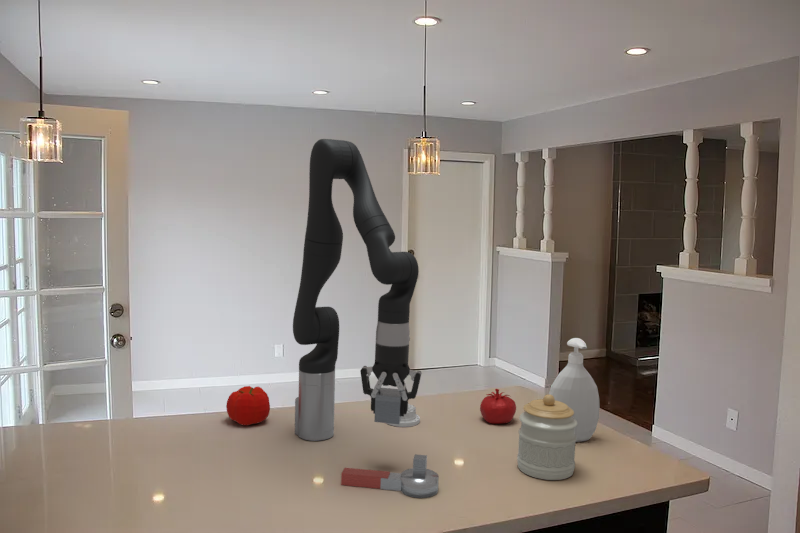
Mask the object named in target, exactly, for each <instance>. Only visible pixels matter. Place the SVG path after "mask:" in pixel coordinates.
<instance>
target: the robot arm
mask: <svg viewBox="0 0 800 533" xmlns="http://www.w3.org/2000/svg"><path fill="white" fill-rule="evenodd" d="M308 178H309V180H308V181H309V182H308V184H309V186H308V187H309V188H308V190H309V192H308V208H307V209H308V210H307V220H306V226H305V227H306V228H305V235H304V245H303V256H302V267H301V276H300V283H299V287H298V293H297V298H296V301H295V302H296V303H295V306H294V307H295V308H294V313H293V320H292V333H293V334H292V335H293V338H294V340H295V342H296V343H297V344H299V345H301V346H306V345H307V346H308V345H315V347H314V348H313V349H312V350H311V351H310V352H307V353H306V354H304V355H302V356H301V357H300V358H299V362H298V397H295V400H294V435H296V436H298V438H300V439H302V440H306V441H313V442H314V441H315V442H317V441H324V440H328V439H330V438H332V437H334V435H335V434H334V433H335V391H336V365H337V364H336V363H337V361H338V354H339V350H338V349H339V338H340V319H339V315H338V312H337V311H336V309H335V308H334V307H332V306H317V302H318V299H319V296H320V293H321V291H322V289H323V287H324V286H325V284H326V283H327V282H328V281H329V279H330V278H331V276H332V275H333V273H334V272H335V270H336V269H337V268H338V265H339V263H340V261H341V257H342V249H343V241H344V233H343V228H342V225H341V223H340V220H339V218H338V214H337V212H336V211H335V207H334V204H333V196H332V194H333V184H334V183H333V182H334V180H344V181H345V182H346V183H347V185H348V186H349V188H350V190H351V191H352V195H353V207H352V218H353V221H354V225H355V228H356V230H357V231H358V233H359V235H360V237H361V239H362V241H363V242H364V244H365V246H366V252H367V257H368V260H369V267H370V269H371V273H372V275H373V277H374V278H375V279H376V280H377V281H378V282H379V283H381V284H382V285H387V286H389V285H391V286H390V289H389V291H388V292H386V293H384V294H383V295H380V297H379V300H378V303H377V304H378V306H377V307H378V308H377V324H376V328H375V329H376V330H375V350H374V363H373V366H367V365H363V366H362V367H361V369H360V378H361V379H360V380H361V386H362V393H363V395H368V396H369V397H370V410H371V412H372V413H373V414H374V415H375V397H376V393H378V392H379V390H380V388H382V386H385V387H389V386H391V387H396V389H398V390H399V392H400V394H401V395H402V396H401V397H402V401H401V416H404V414H406V413H407V411H408V404H409V400H411V399H412V400H414V399H416V397H417V395H418V389H419V386H420V381H421V378H422V374H423V373H422V371H421V370H417V371H416V370H413V369H411V368H410V366H409V356H410V355H409V354H410V353H409V352H410V341H411V336H410V330H411V328H410V311H411V310H410V308H411V307H410V305H411V302H412V298H413V295H414V292H415V289H416V285H417V283H418V279H419V272H420V271H419V270H420V268H419V264H418V260H417V259H416V258H417V257H415V255H414V254H412V253H411V252H409V251H392V250H391V249H390V247H391V246H392V245H393V244H394V242H395V240H396V235H395V232H394V230H393V228H392V225H391V224H390V222H389V220H388V218H387V216H386V215H385V213H384V212H383V210H382V207H381V206H380V204H379V201H378V199H377V197H376V194H375V190H374V187H373V185H372V181H371V178H370V177H369V173H368V170H367V168H366V165H365V162H364V159H363V156H362V153H361V151H360V150H359V148H358V146H357V145H356V144H355V143H353V142H352V141H348V140H342V139H331V138H321V139H318V140H317V141H316V142H315V143H314V144H313V146H312V149H311V152H310V158H309V177H308ZM372 373H373V374H374V376H375V377H376V379H377V381H376V384H375V385H374V388H372V387H371V383H370V376H371V375H372ZM408 376H410V380H411V381H412V388H411V391H408V389H407V385H406V382H405V380H406V379H407V378H408Z"/></svg>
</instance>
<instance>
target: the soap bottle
mask: <svg viewBox="0 0 800 533" xmlns="http://www.w3.org/2000/svg"><path fill="white" fill-rule="evenodd" d="M566 345H567V346H568V347H573V351H570V352H569V354H568V357H567V358H568V361H567V364H566V365H565V367H564V368H563V369H562V370H561V371H560V372H559V373H558V375H557V376H556V378H555V379H554V381H553V382H552V384H551V386H550V390H549V392H548V394H550V395H552V396H554V398H555V400H556V401H560V402H563V403H565V404H566V405H567V406H568V407H570V408H571V409H572V410H573V411H574V415H573V416H572V417H573V418H574V419H575V420H576V421H577V426H576V427H575V428H574V432H575V435H576V437H577V439H576V441H575V443H578V442H586V441H588V440H590V439H591V438H592V437H593V434H594V433H595V432H596V430H597V426H598V423H599V419H600V410H601V409H600V396H599V390H598V389H599V388H598V386H597V384H596V382H595V380H594V378H593V377H592V375H591V374H590V373H589V372H588V370H587V369H586V368H585V367H584V354H582V352H580V351H579V349H581V350H587V349H588V346H587V344H586V342H585V341H584V340H583V339H582V338H579V337H573V338H570V339H569V340H568V341H567V342H566Z"/></svg>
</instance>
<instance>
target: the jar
mask: <svg viewBox="0 0 800 533" xmlns="http://www.w3.org/2000/svg"><path fill="white" fill-rule="evenodd" d="M522 409H523V410H524V412H523V411H522V413H520V415H519V417H518V418H519V419H518V420H519V421H520V422H521V423H520V424H521V425H520V428H518V435H519V436H518V449H517V450H518V451H517V454H516V455H517V459H516V461H517V467H518V469H519V470H520V471H521V472H522V473H523V474H525V475H527V476H530V477H533V478H536V479H539V480H545V481H546V480H547V481H562V480H565V479H568V478H570V477H571V476H573V474H574V470H575V468H576V466H575V465H576V461H575V459H576V458H575V456H576V453H575V452H576V442H575V441H576V439H577V437H576V435H575V432H574V428H575V427H576V426H577V421H576V420H575V419H574V418H573V417H572V416H573V415H574V411H573V410H572V409H571V408H570V407H568V406H567V405H566V404H565V403H563V402H560V401H556V400H555V398H554V396H552V395H550V394H549V393H548V394H545V395H544V396H543V397H542V398H540V399H533V400H531V401H530V402H528V403H526V404H524V405H523V407H522Z"/></svg>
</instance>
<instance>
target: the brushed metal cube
mask: <svg viewBox="0 0 800 533" xmlns="http://www.w3.org/2000/svg"><path fill="white" fill-rule="evenodd" d="M401 396H402V395H401V394H400V392H399V390H398V388H390V387H389V388H388V387H381V388H380V390H379V392H378V393H376V397H375V414H374V423H384V424H387V423H391V424H400V421H401V419H402V416H401V401H402V397H401Z"/></svg>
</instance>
